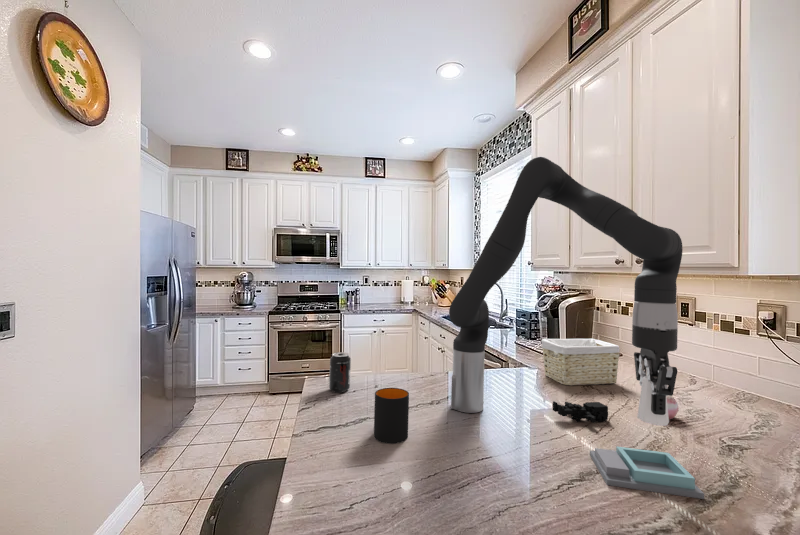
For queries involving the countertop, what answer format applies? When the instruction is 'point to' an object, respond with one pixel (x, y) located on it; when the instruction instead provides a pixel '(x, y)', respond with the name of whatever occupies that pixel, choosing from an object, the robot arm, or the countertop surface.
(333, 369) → the beverage can
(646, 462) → the grey and blue tray
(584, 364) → the storage basket
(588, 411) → the toy
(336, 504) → the countertop surface
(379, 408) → the mug
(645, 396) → the salt shaker
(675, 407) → the onion
